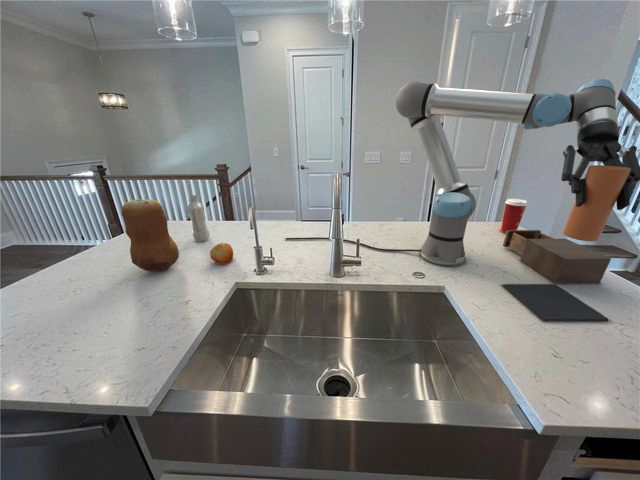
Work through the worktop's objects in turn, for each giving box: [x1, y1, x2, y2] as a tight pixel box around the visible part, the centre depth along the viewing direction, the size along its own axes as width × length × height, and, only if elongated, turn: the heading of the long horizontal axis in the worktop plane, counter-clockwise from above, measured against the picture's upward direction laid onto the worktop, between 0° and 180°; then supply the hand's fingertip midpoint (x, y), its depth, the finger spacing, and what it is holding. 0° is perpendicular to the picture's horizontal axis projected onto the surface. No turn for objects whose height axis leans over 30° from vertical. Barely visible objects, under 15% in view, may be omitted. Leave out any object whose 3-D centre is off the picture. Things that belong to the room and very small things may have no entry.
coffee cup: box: [500, 198, 528, 234], centre depth 118 cm, size 8×8×15 cm
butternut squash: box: [120, 198, 180, 272], centre depth 87 cm, size 14×13×25 cm
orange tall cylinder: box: [562, 164, 631, 242], centre depth 66 cm, size 7×7×18 cm
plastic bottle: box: [186, 194, 210, 242], centre depth 112 cm, size 6×7×20 cm
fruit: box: [209, 242, 234, 265], centre depth 95 cm, size 8×8×8 cm
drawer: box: [502, 229, 555, 256], centre depth 98 cm, size 19×12×7 cm, turn 179°
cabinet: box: [519, 238, 612, 284], centre depth 86 cm, size 16×14×9 cm
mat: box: [501, 283, 609, 322], centre depth 72 cm, size 16×16×1 cm
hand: (601, 205), depth 62 cm, fingers closed on orange tall cylinder, 7 cm apart
